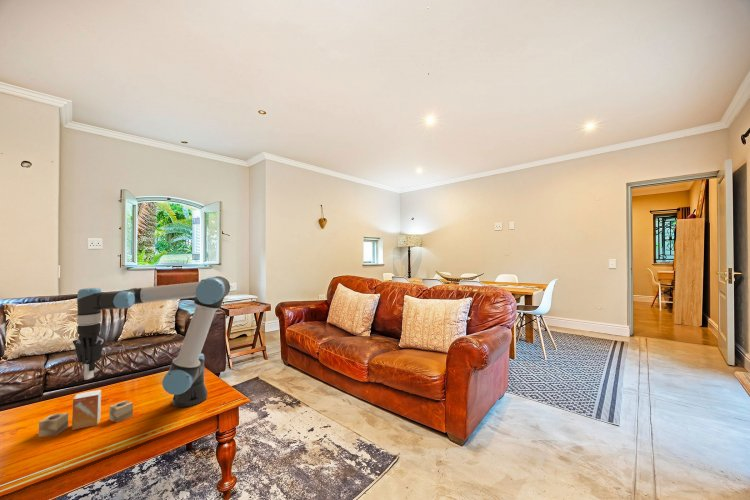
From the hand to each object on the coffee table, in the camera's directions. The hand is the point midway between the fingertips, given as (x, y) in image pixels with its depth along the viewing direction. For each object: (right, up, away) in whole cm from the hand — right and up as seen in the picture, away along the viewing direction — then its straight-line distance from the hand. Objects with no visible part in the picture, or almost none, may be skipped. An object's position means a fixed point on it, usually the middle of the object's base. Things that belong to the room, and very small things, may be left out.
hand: (89, 378), depth 131 cm
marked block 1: (-9, -20, -6) cm, 22 cm away
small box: (0, -20, -1) cm, 20 cm away
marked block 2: (+10, -20, +5) cm, 23 cm away
